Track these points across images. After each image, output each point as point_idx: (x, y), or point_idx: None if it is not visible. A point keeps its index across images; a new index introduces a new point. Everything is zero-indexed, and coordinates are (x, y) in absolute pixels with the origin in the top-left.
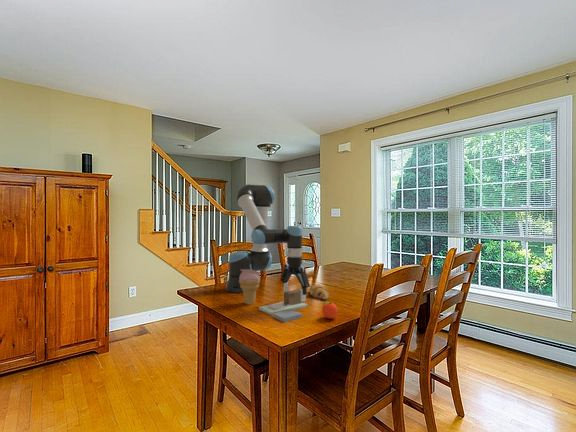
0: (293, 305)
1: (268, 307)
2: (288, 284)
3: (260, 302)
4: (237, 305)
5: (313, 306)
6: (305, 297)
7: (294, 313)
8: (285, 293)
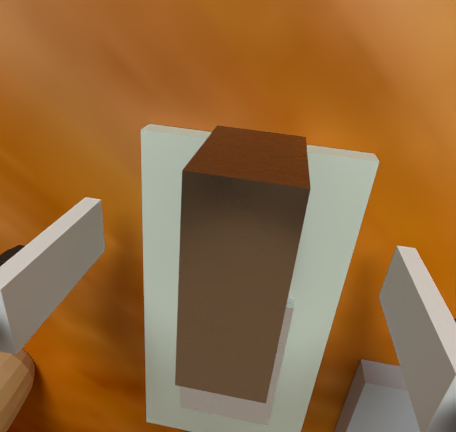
0: (293, 279)
1: None
2: (21, 271)
3: None
4: None
5: (429, 103)
6: (424, 275)
7: None
8: (206, 384)
